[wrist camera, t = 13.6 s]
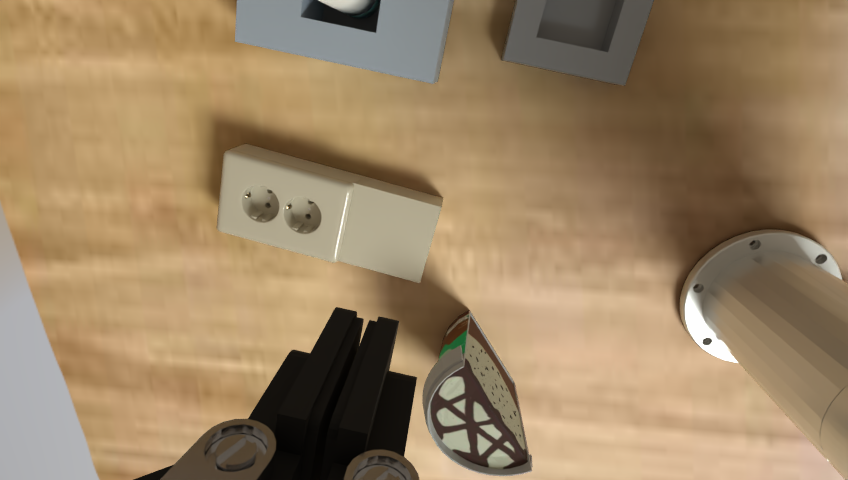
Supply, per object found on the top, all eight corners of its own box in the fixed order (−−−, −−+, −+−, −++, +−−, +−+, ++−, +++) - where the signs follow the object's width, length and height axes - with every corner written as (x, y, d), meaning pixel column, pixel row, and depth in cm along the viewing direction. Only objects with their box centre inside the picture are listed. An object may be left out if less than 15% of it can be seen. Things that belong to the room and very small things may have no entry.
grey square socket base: (658, -48, 33) (673, -57, 30) (615, 84, 36) (625, 85, 34) (533, -74, 33) (538, -85, 31) (501, 60, 36) (503, 59, 34)
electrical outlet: (418, 288, 40) (214, 231, 39) (423, 268, 43) (236, 217, 43) (440, 210, 37) (221, 150, 37) (443, 196, 41) (245, 142, 41)
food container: (406, 324, 45) (390, 391, 36) (461, 297, 44) (460, 360, 34) (468, 415, 48) (467, 499, 39) (521, 394, 47) (534, 475, 37)
